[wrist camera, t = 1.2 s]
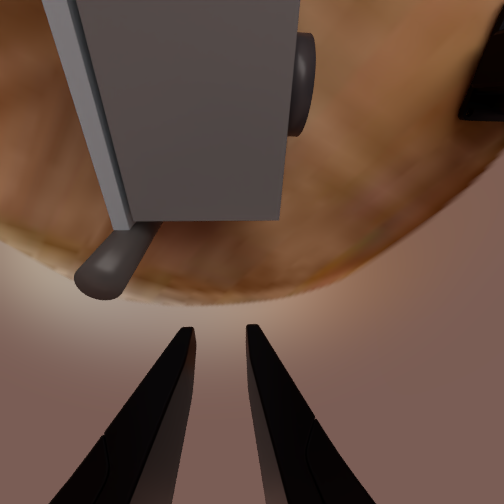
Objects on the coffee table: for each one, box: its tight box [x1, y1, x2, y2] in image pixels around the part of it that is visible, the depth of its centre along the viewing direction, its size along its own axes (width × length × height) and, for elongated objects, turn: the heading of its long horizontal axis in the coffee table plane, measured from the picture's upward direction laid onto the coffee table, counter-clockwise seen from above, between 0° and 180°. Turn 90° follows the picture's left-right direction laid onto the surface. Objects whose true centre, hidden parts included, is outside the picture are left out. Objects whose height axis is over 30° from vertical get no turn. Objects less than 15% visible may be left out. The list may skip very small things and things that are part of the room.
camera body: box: [76, 0, 316, 221], centre depth 12 cm, size 9×14×7 cm, turn 179°
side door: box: [42, 0, 163, 300], centre depth 11 cm, size 2×17×10 cm, turn 178°
